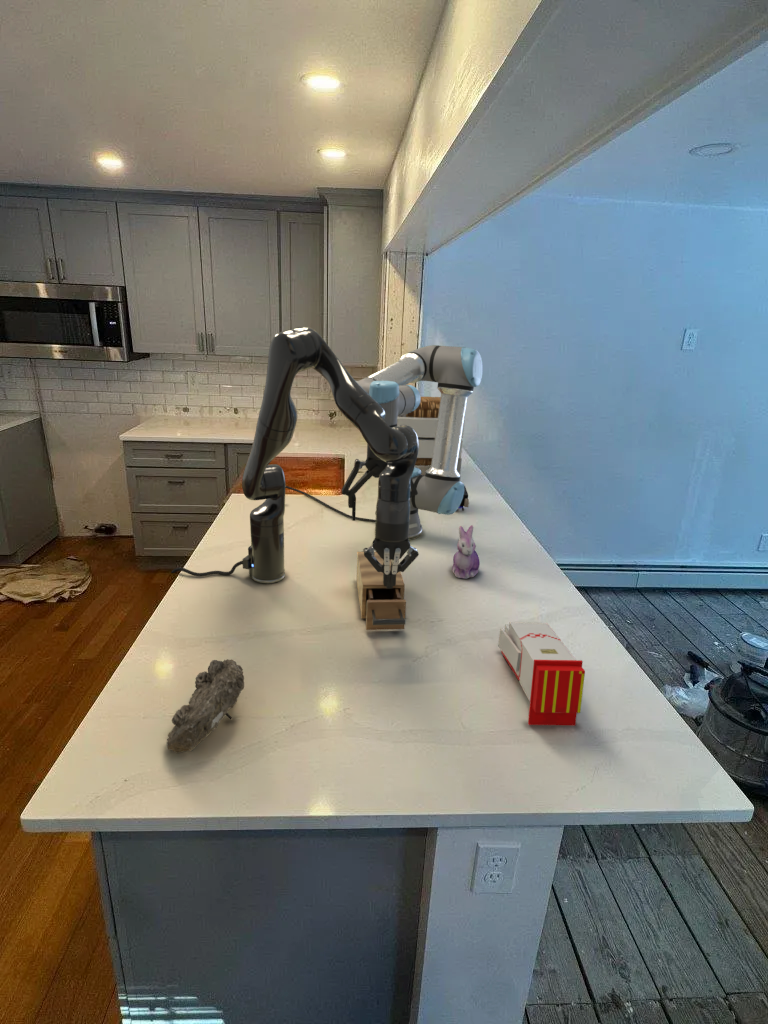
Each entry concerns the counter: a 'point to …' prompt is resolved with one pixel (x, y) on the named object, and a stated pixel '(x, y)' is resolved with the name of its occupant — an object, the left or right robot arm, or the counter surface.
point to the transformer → (426, 429)
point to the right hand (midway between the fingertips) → (378, 519)
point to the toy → (544, 672)
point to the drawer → (384, 609)
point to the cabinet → (372, 579)
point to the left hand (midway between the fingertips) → (389, 587)
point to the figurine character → (464, 500)
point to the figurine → (466, 555)
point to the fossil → (206, 705)
